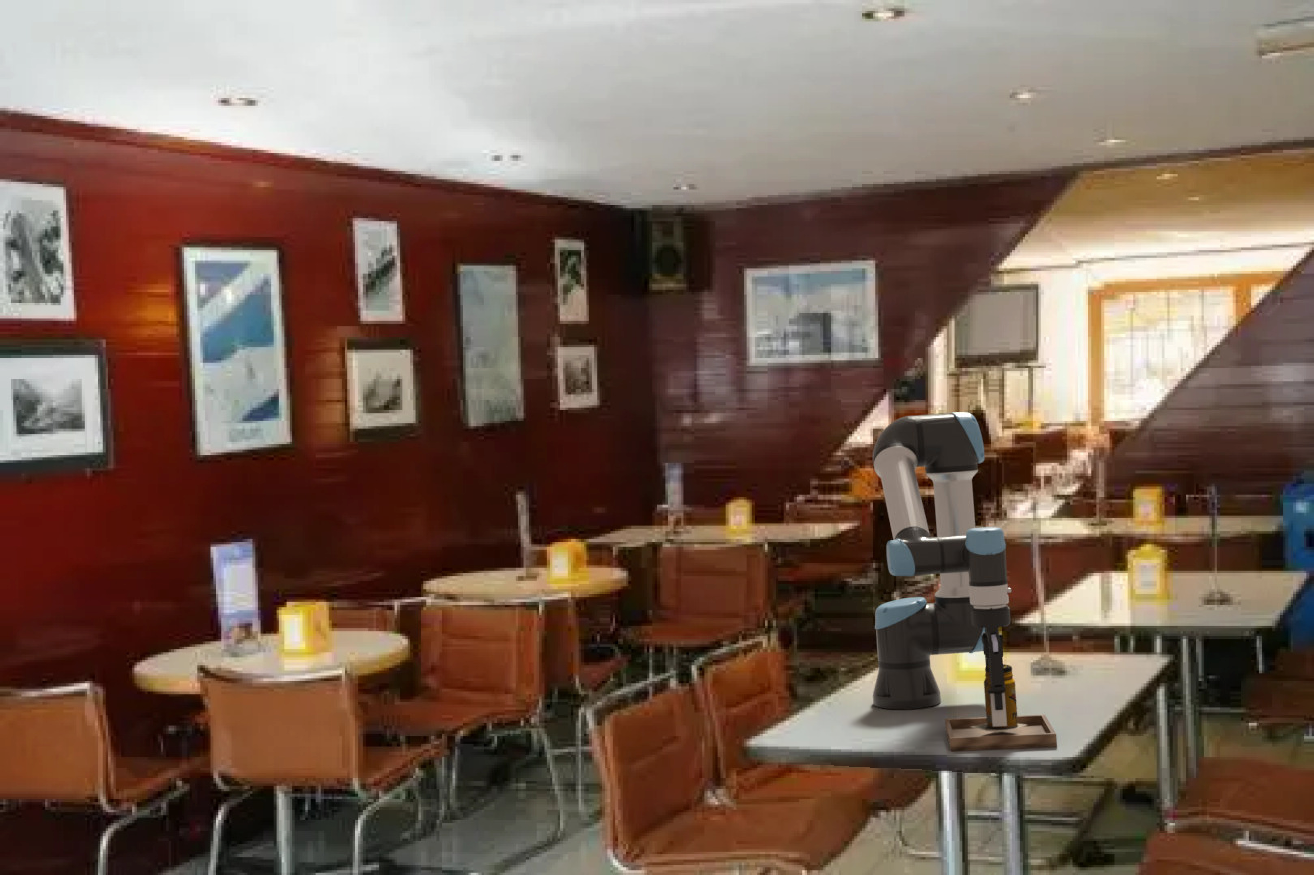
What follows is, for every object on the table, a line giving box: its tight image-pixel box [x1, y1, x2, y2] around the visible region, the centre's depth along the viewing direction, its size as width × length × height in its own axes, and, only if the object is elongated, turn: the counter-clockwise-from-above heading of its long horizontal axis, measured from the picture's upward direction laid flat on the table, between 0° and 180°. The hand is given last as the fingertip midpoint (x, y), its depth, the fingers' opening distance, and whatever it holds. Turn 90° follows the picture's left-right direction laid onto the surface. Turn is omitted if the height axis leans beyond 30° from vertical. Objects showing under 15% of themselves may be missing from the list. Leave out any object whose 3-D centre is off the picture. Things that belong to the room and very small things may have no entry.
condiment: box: [972, 663, 1026, 732], centre depth 294 cm, size 7×8×12 cm
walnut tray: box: [944, 714, 1058, 752], centre depth 295 cm, size 20×18×2 cm
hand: (998, 722), depth 295 cm, fingers closed on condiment, 6 cm apart
